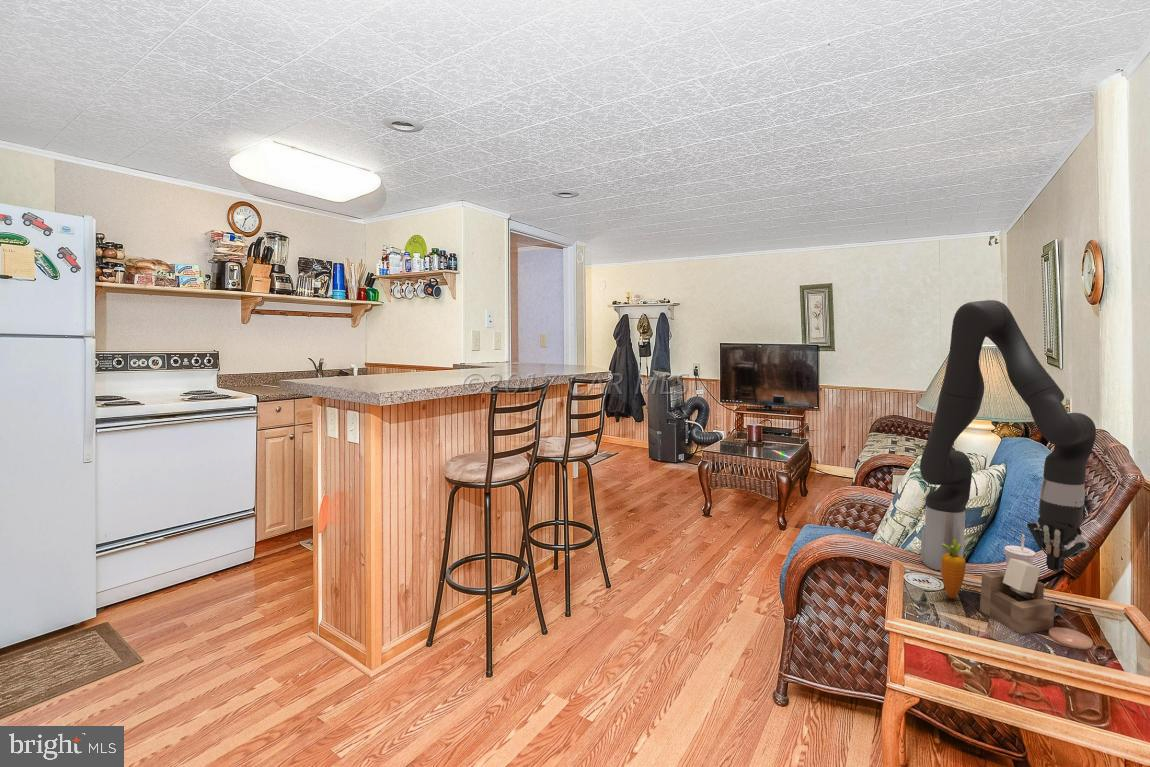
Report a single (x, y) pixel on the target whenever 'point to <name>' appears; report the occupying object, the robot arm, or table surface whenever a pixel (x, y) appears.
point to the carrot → (952, 569)
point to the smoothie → (1019, 553)
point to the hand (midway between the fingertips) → (1054, 570)
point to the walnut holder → (1015, 605)
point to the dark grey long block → (1056, 608)
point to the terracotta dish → (1070, 638)
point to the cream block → (1021, 575)
